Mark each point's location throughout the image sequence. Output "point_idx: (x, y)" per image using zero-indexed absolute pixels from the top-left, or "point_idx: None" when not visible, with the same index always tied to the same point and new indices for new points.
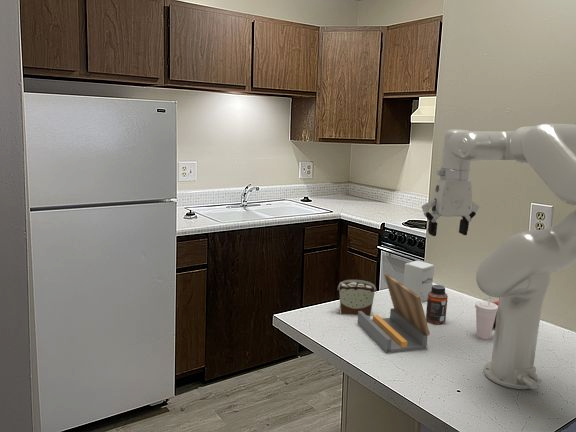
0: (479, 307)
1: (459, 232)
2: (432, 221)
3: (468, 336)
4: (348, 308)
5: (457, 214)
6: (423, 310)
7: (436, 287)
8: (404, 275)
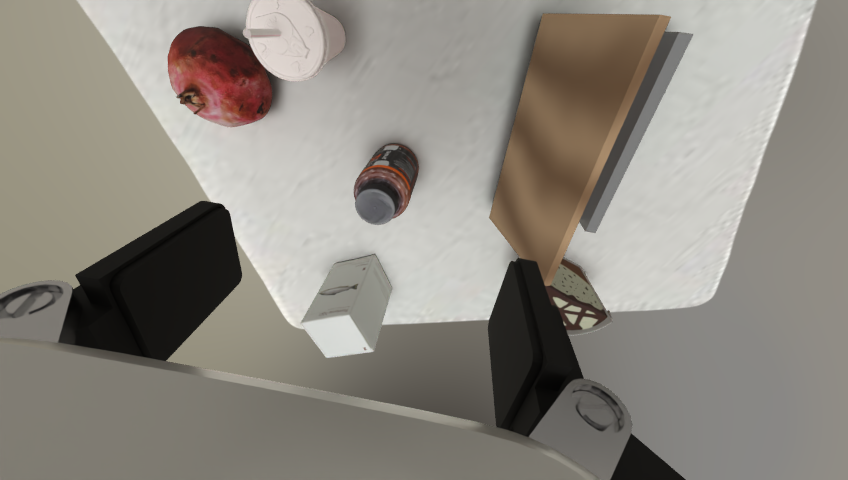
0: (322, 30)
1: (240, 271)
2: (614, 396)
3: (370, 51)
4: (571, 269)
5: (182, 399)
6: (605, 14)
7: (386, 203)
8: (380, 325)
